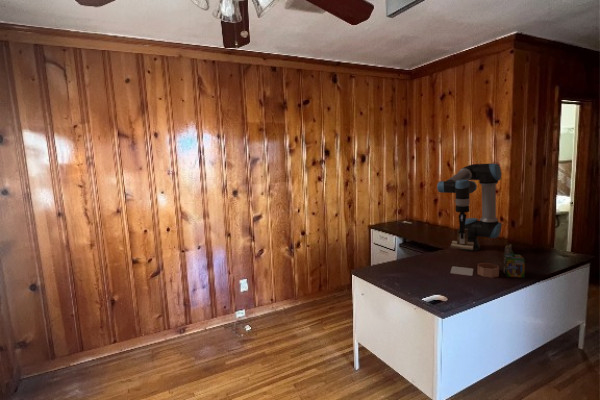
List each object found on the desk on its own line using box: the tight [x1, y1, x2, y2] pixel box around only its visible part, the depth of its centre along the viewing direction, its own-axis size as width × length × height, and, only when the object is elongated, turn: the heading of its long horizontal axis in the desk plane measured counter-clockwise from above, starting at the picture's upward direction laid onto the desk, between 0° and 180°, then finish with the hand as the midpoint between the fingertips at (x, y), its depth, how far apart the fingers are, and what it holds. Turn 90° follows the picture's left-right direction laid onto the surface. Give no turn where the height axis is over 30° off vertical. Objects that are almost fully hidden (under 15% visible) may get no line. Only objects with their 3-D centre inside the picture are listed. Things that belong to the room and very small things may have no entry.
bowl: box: [477, 262, 500, 278], centre depth 190 cm, size 11×11×5 cm
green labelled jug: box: [502, 249, 526, 279], centre depth 187 cm, size 9×9×15 cm
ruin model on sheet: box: [504, 243, 513, 254], centre depth 220 cm, size 11×3×10 cm, turn 140°
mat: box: [449, 266, 474, 277], centre depth 198 cm, size 13×12×1 cm
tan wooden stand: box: [450, 227, 474, 250], centre depth 195 cm, size 12×12×11 cm
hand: (462, 242), depth 196 cm, fingers closed on tan wooden stand, 3 cm apart
